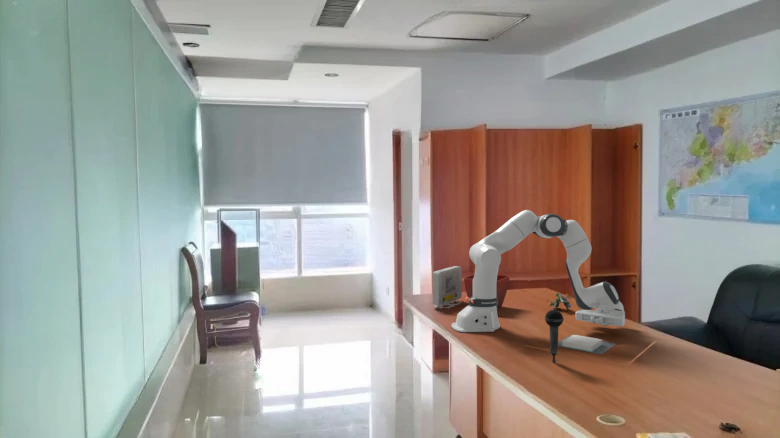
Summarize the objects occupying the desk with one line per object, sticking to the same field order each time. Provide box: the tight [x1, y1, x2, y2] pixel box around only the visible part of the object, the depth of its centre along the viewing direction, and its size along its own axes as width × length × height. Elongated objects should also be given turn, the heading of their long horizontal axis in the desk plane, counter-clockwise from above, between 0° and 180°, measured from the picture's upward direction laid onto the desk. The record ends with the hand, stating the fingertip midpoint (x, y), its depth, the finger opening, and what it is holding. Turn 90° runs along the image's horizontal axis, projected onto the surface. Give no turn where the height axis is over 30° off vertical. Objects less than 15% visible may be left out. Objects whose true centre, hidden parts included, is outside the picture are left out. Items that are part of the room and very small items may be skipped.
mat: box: [558, 334, 617, 355], centre depth 230 cm, size 18×20×1 cm
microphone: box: [544, 309, 565, 363], centre depth 209 cm, size 7×7×20 cm
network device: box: [432, 265, 463, 309], centre depth 307 cm, size 26×9×20 cm, turn 144°
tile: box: [561, 334, 603, 353], centre depth 228 cm, size 2×12×12 cm
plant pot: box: [463, 273, 511, 310], centre depth 299 cm, size 19×19×17 cm
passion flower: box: [546, 292, 572, 312], centre depth 292 cm, size 11×11×12 cm
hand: (593, 321), depth 237 cm, fingers closed
